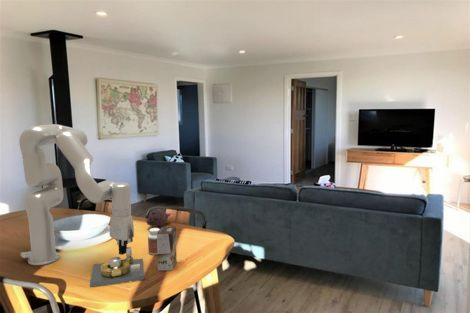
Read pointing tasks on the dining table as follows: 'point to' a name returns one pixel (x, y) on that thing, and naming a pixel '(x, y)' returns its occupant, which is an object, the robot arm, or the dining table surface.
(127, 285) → the dining table surface
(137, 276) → the plate
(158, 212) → the pine cone
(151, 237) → the pill bottle
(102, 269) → the gold ring
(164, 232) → the coffee box
